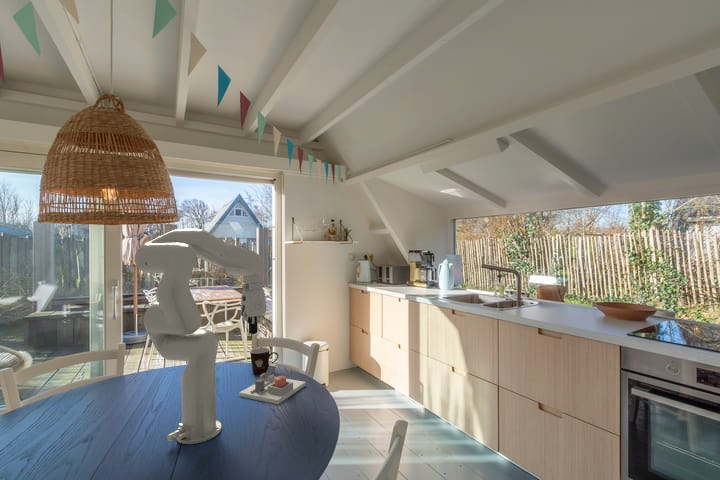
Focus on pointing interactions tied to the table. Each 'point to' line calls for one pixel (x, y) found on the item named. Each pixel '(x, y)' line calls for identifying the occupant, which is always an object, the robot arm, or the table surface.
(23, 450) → the table surface
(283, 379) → the button
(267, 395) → the panel
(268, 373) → the lever
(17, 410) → the table surface
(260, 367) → the coffee mug
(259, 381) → the slider
